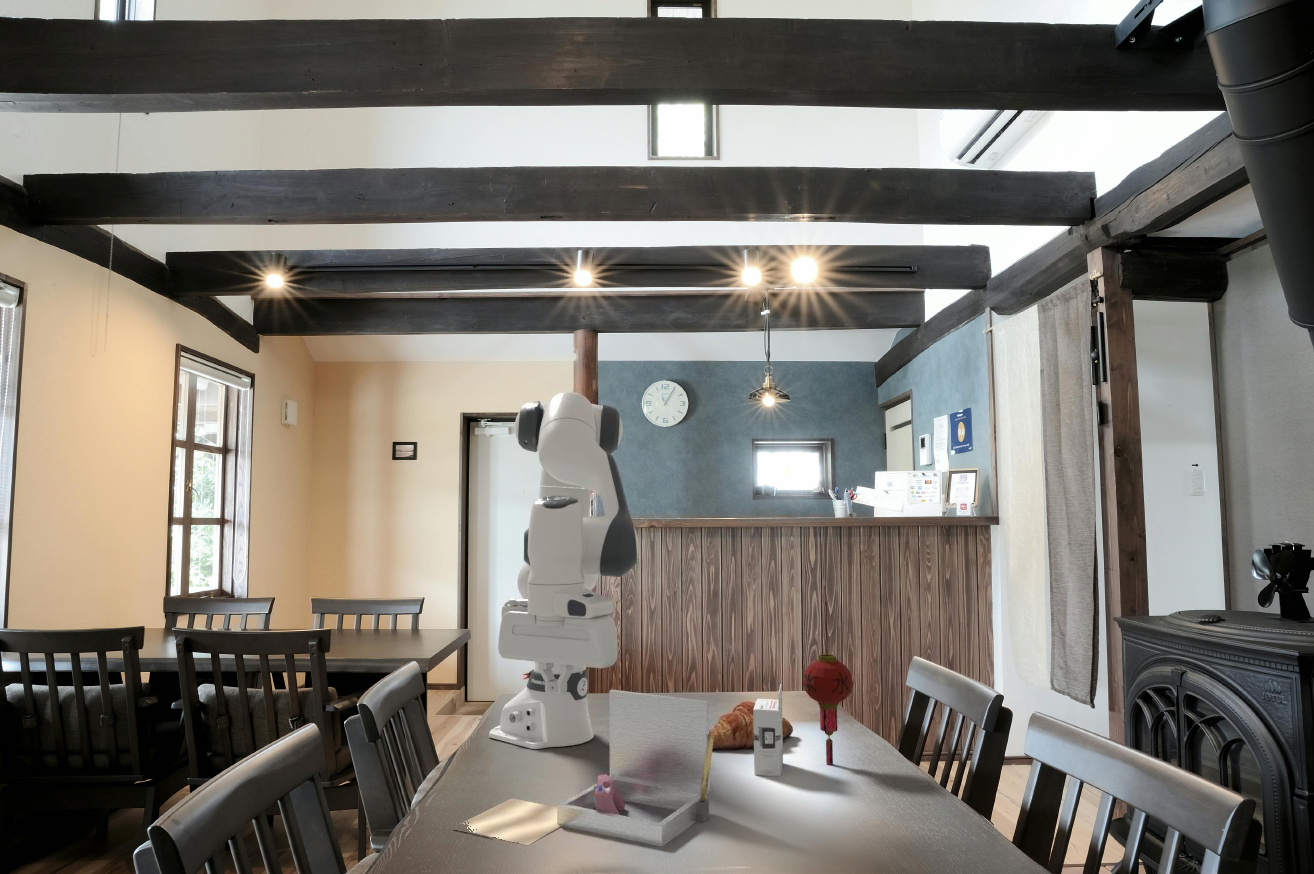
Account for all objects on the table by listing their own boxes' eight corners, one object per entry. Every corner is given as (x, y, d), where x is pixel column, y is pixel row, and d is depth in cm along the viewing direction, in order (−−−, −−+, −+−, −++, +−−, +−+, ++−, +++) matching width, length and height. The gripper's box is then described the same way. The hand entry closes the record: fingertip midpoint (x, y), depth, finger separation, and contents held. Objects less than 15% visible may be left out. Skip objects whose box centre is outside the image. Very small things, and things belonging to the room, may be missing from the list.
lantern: (794, 759, 158) (791, 600, 161) (835, 753, 162) (832, 597, 164) (823, 774, 150) (819, 605, 152) (866, 767, 153) (861, 602, 156)
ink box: (757, 760, 158) (756, 681, 159) (783, 762, 157) (782, 682, 158) (753, 775, 150) (752, 691, 151) (781, 777, 149) (779, 692, 150)
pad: (452, 832, 124) (452, 827, 124) (511, 802, 137) (511, 797, 137) (527, 851, 118) (527, 845, 118) (582, 817, 130) (582, 812, 130)
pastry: (776, 757, 161) (775, 715, 161) (700, 749, 166) (700, 708, 167) (794, 734, 176) (793, 696, 177) (724, 728, 182) (723, 691, 182)
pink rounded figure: (597, 813, 133) (592, 768, 133) (625, 809, 133) (621, 764, 133) (593, 838, 123) (588, 789, 123) (624, 834, 123) (619, 785, 124)
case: (557, 828, 126) (557, 710, 127) (612, 795, 140) (612, 689, 141) (669, 853, 116) (668, 725, 118) (717, 815, 130) (715, 701, 132)
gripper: (489, 600, 131) (489, 689, 130) (601, 606, 121) (601, 703, 120) (514, 596, 136) (514, 682, 135) (622, 602, 127) (623, 694, 126)
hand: (556, 692), depth 128 cm, fingers closed
